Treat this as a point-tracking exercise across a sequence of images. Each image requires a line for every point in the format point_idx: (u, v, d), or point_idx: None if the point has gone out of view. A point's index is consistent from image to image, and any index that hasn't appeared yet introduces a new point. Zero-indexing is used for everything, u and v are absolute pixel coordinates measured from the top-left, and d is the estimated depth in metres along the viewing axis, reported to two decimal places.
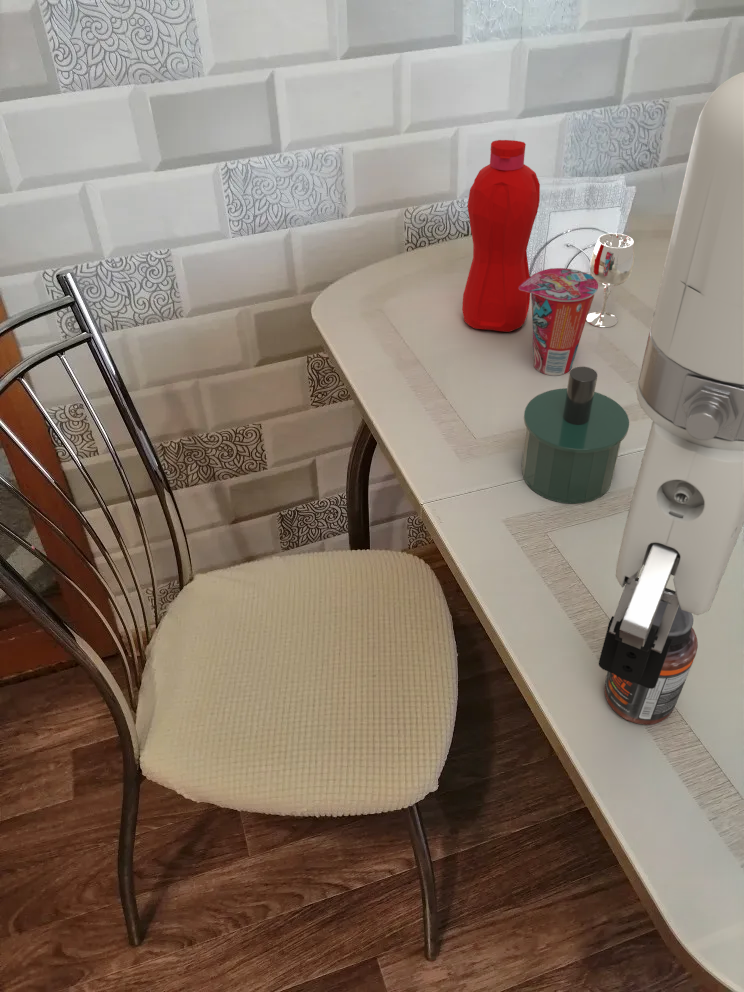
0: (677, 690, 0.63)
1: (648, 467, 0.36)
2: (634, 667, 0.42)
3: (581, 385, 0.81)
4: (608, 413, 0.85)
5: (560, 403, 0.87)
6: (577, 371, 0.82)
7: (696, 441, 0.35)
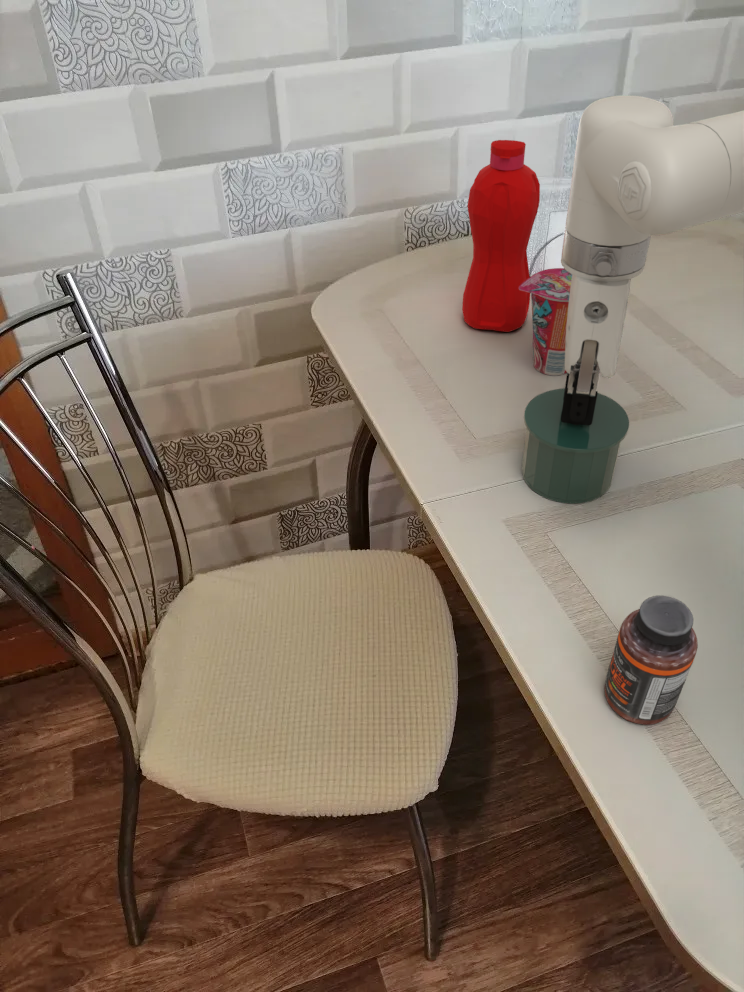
0: (677, 690, 0.63)
1: (578, 299, 0.72)
2: (581, 411, 0.81)
3: None
4: (608, 413, 0.85)
5: (560, 403, 0.87)
6: None
7: (599, 280, 0.71)
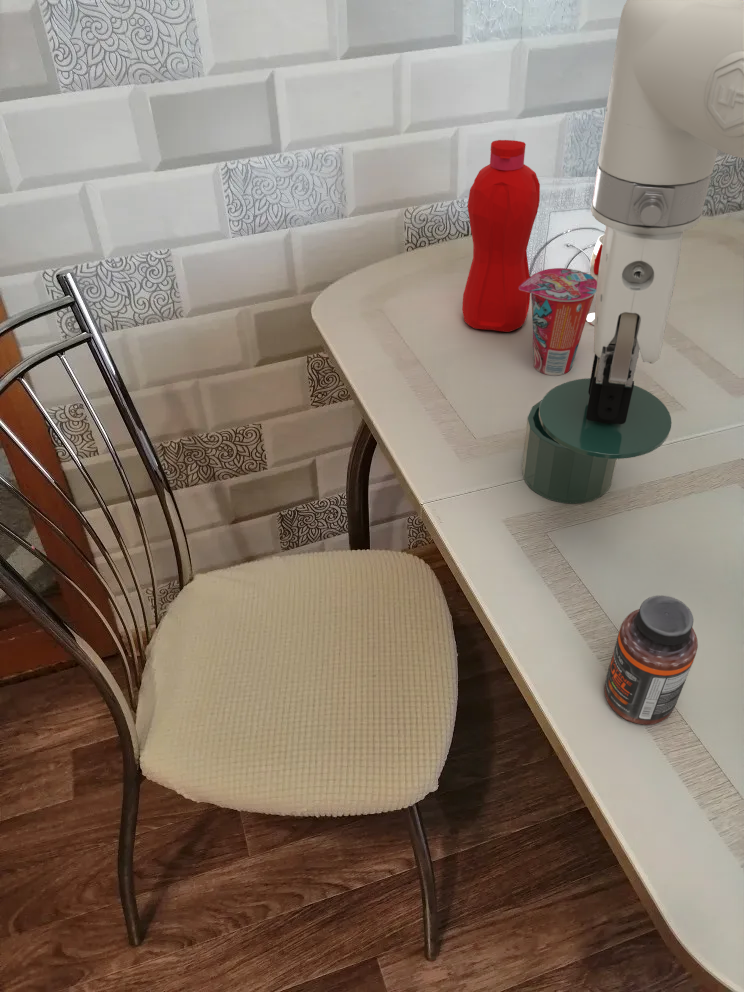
0: (677, 690, 0.63)
1: (614, 258, 0.55)
2: (613, 406, 0.64)
3: None
4: (644, 408, 0.68)
5: (584, 397, 0.70)
6: None
7: (643, 233, 0.54)
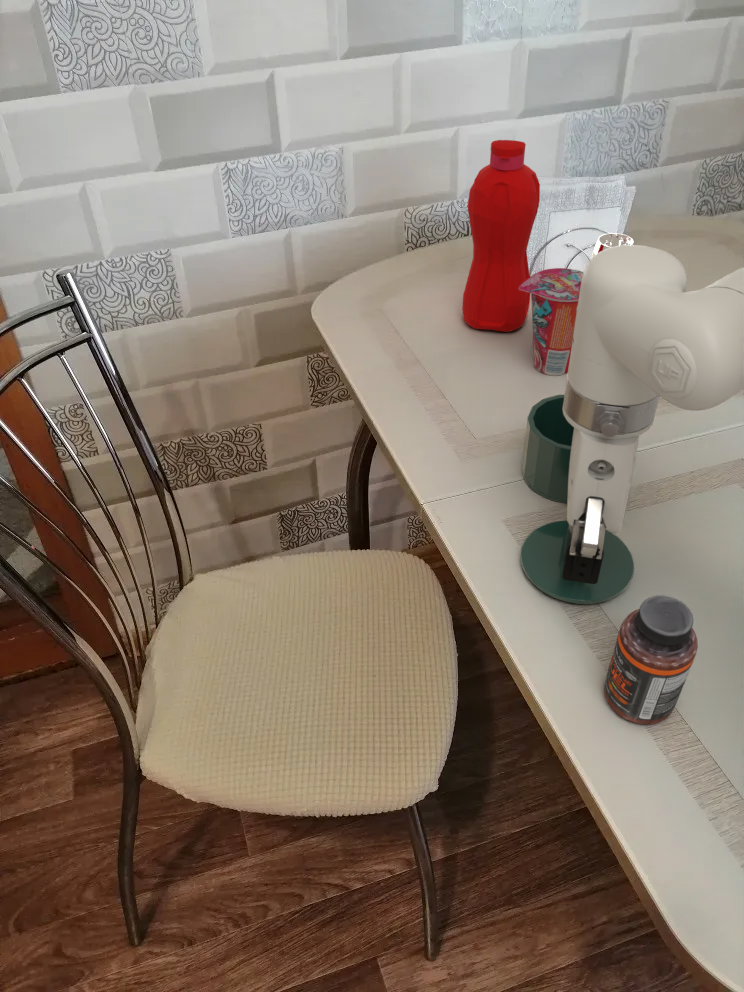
0: (677, 690, 0.63)
1: (581, 455, 0.65)
2: (585, 572, 0.72)
3: (582, 532, 0.75)
4: (611, 553, 0.80)
5: (560, 540, 0.81)
6: None
7: (604, 437, 0.64)
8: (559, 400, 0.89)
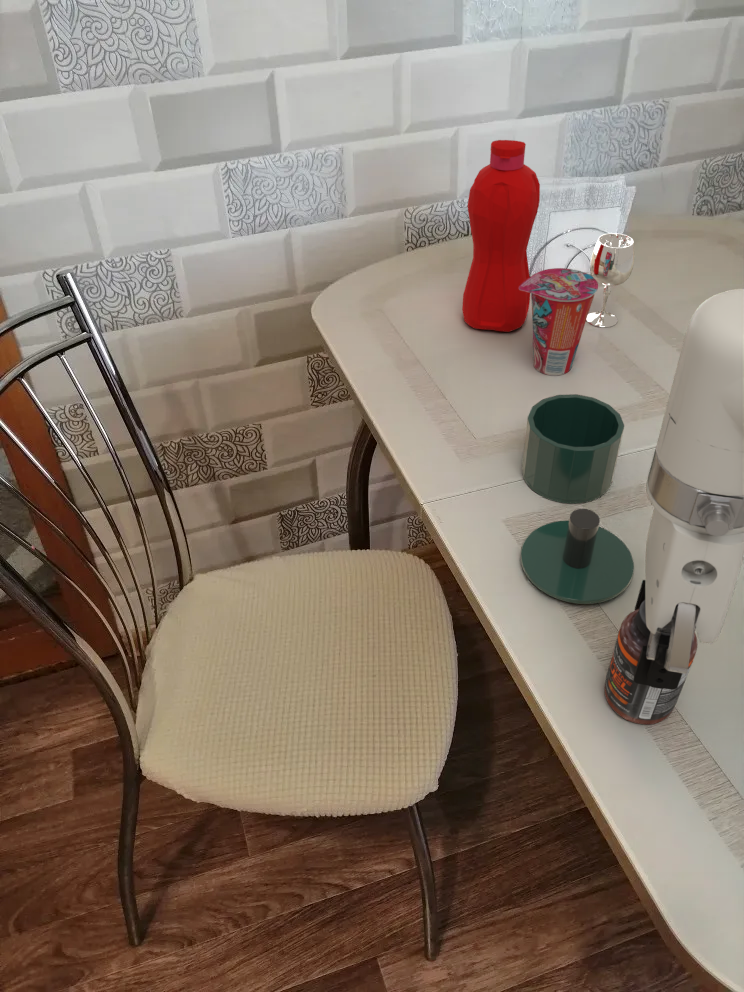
0: (677, 690, 0.63)
1: (673, 554, 0.51)
2: (664, 678, 0.59)
3: (582, 532, 0.75)
4: (611, 553, 0.80)
5: (560, 540, 0.81)
6: (578, 515, 0.76)
7: (705, 532, 0.50)
8: (559, 400, 0.89)
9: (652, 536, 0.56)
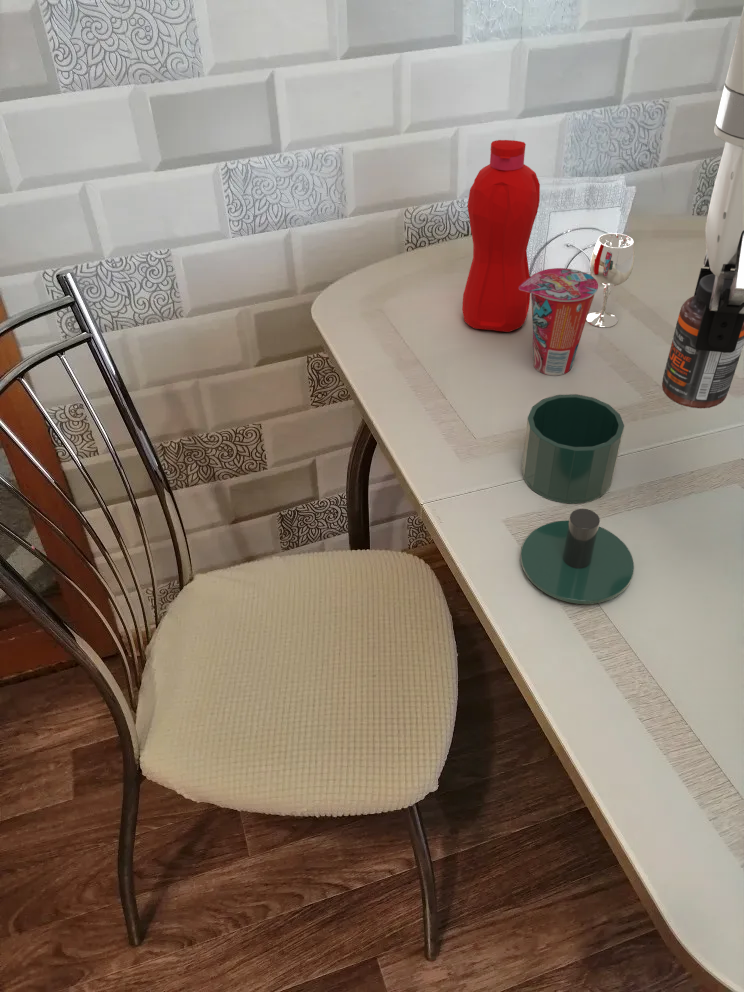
0: (732, 365, 0.70)
1: (741, 175, 0.58)
2: (725, 334, 0.66)
3: (582, 532, 0.75)
4: (611, 553, 0.80)
5: (560, 540, 0.81)
6: (578, 515, 0.76)
7: None
8: (559, 400, 0.89)
9: (717, 189, 0.63)
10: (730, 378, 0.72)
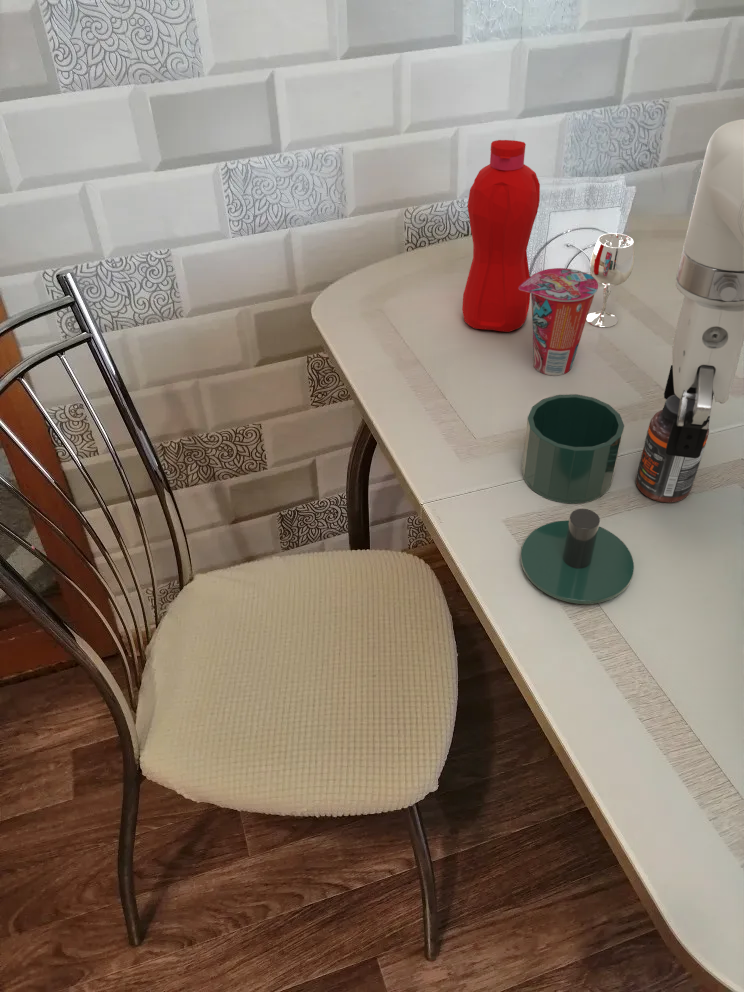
0: (693, 469, 0.83)
1: (696, 324, 0.70)
2: (690, 444, 0.77)
3: (582, 532, 0.75)
4: (611, 553, 0.80)
5: (560, 540, 0.81)
6: (578, 515, 0.76)
7: (720, 305, 0.69)
8: (559, 400, 0.89)
9: (679, 326, 0.75)
10: (692, 478, 0.85)
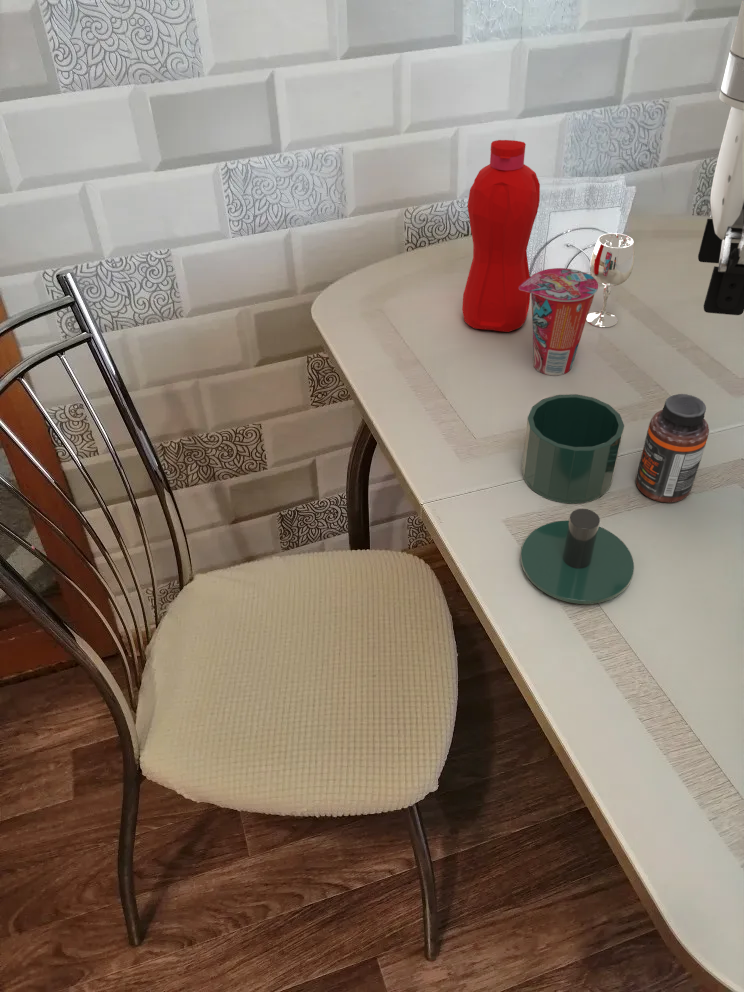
0: (693, 469, 0.83)
1: None
2: (733, 295, 0.66)
3: (582, 532, 0.75)
4: (611, 553, 0.80)
5: (560, 540, 0.81)
6: (578, 515, 0.76)
7: None
8: (559, 400, 0.89)
9: (722, 155, 0.65)
10: (692, 478, 0.85)
